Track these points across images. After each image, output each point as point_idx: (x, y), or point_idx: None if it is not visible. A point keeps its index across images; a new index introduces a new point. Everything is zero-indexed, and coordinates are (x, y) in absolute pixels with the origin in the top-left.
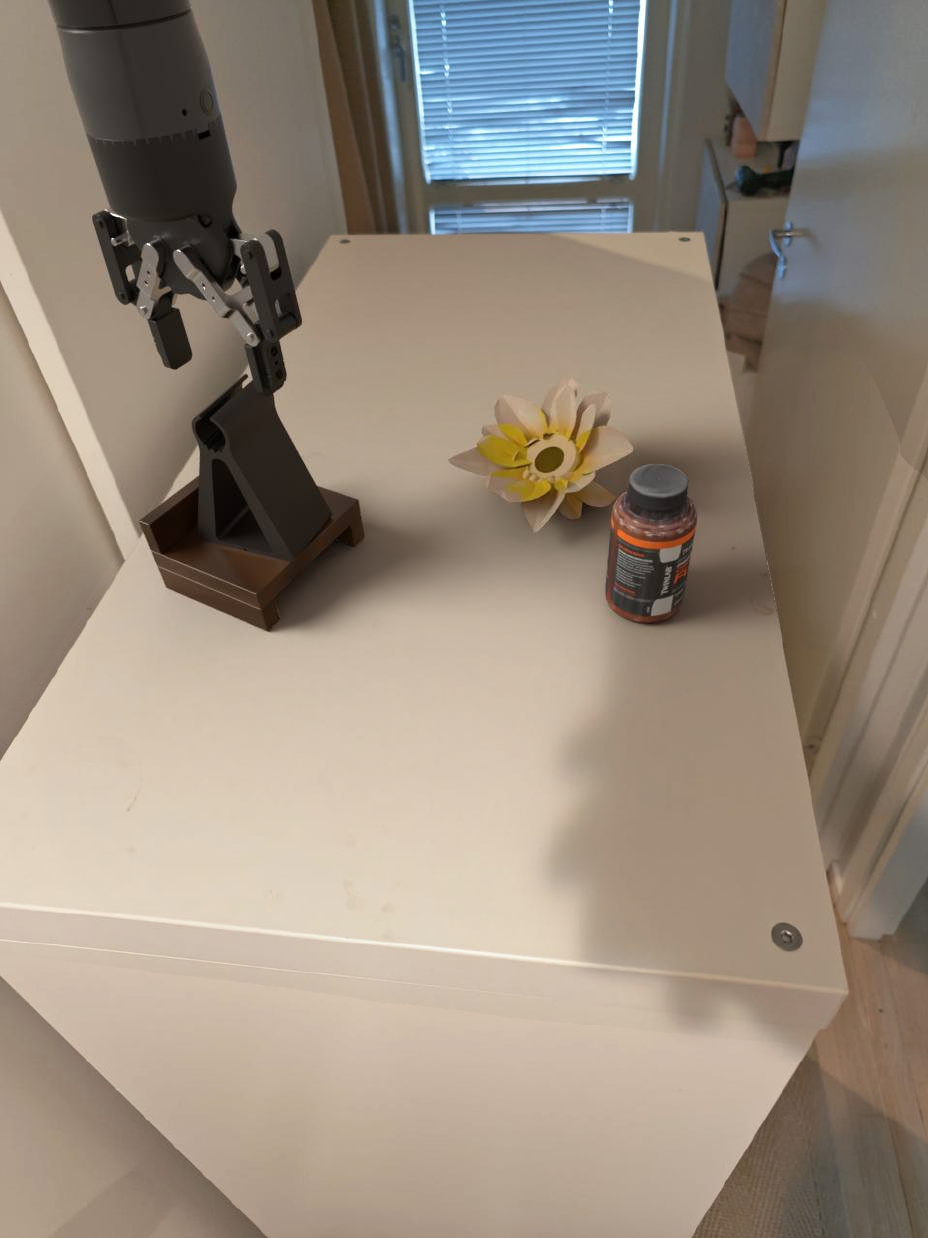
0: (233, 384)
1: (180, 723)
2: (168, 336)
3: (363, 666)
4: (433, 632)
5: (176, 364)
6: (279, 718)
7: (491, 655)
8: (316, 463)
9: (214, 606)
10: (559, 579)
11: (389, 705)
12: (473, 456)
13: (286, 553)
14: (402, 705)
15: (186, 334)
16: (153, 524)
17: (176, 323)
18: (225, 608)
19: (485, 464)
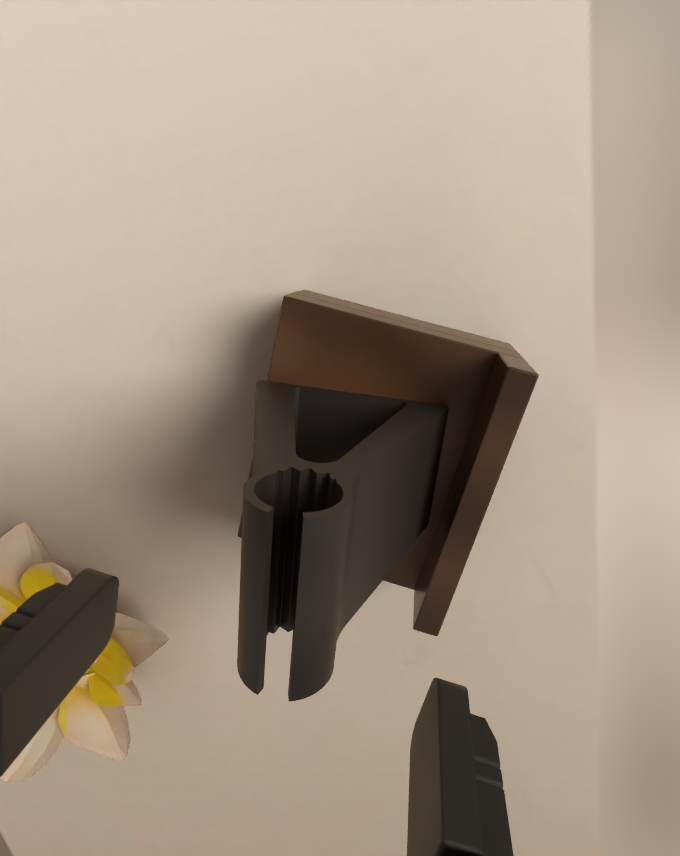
0: (296, 656)
1: (342, 69)
2: (431, 787)
3: (148, 260)
4: (94, 343)
5: (431, 696)
6: (207, 130)
7: (14, 320)
8: (399, 642)
9: (404, 316)
10: (2, 464)
11: (85, 200)
12: (144, 649)
13: (266, 385)
14: (70, 205)
15: (410, 810)
16: (504, 374)
17: (415, 847)
18: (379, 311)
19: (134, 639)
